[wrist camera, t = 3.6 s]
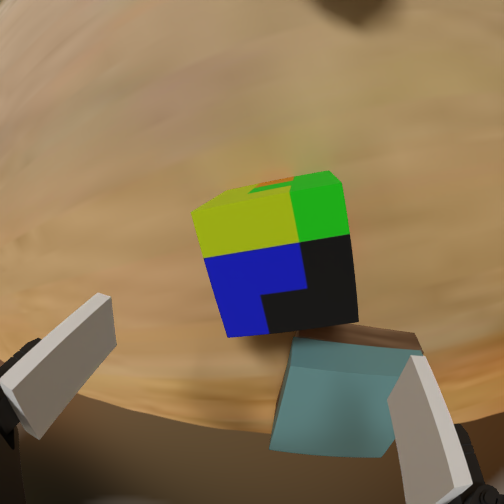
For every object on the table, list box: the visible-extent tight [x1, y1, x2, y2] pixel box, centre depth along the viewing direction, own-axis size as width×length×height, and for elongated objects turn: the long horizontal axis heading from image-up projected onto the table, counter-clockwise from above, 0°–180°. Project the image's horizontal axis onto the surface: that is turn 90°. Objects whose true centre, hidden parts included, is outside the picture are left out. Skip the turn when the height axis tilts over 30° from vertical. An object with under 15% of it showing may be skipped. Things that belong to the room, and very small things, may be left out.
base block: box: [274, 324, 423, 418], centre depth 33 cm, size 14×14×4 cm
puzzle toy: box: [191, 171, 359, 338], centre depth 25 cm, size 10×10×10 cm
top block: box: [269, 337, 423, 457], centre depth 29 cm, size 14×14×4 cm
